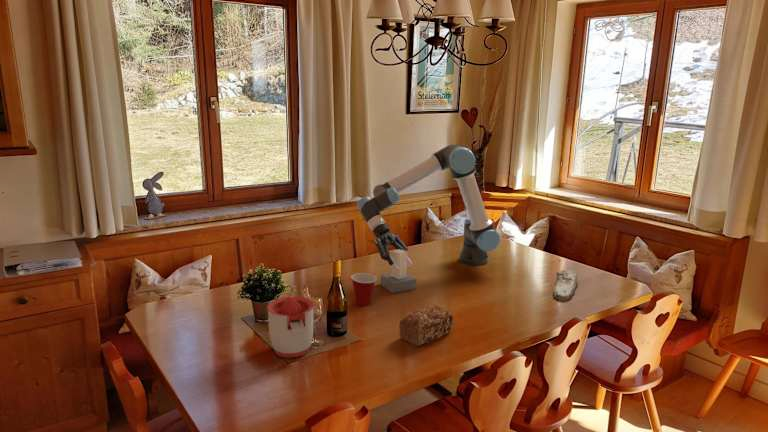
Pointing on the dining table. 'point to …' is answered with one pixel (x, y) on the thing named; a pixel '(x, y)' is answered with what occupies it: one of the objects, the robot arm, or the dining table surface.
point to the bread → (425, 325)
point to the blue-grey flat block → (398, 283)
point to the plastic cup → (363, 287)
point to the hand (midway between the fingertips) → (403, 267)
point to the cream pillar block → (399, 263)
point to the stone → (565, 285)
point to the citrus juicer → (291, 325)
